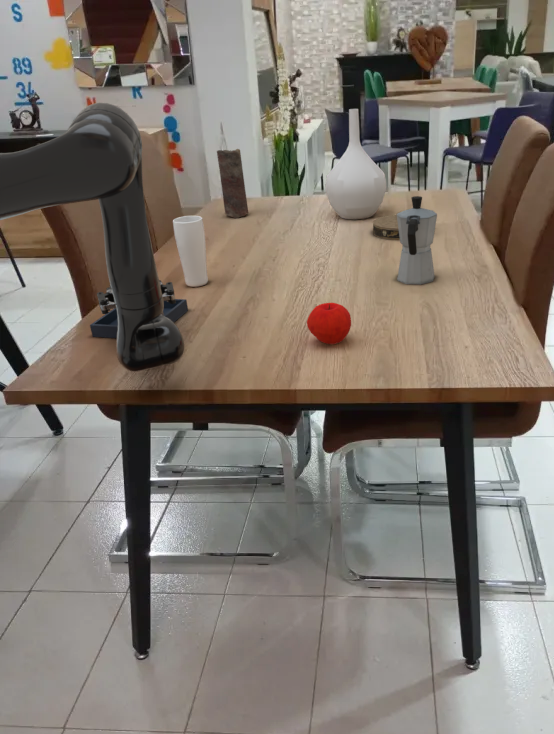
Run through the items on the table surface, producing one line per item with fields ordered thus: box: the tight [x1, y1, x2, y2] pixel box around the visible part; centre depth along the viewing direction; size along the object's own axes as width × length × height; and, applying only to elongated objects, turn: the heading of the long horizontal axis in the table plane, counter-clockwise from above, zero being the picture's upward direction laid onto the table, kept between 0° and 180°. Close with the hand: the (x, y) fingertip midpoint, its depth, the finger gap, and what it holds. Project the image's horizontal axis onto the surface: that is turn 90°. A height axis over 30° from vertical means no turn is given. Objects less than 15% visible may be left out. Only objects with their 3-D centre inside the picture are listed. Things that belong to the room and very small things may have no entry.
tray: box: [89, 298, 189, 339], centre depth 141 cm, size 16×13×2 cm
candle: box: [216, 148, 249, 219], centre depth 215 cm, size 8×7×20 cm
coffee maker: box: [395, 195, 438, 286], centre depth 151 cm, size 15×9×18 cm, turn 165°
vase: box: [324, 108, 387, 221], centre depth 204 cm, size 18×18×30 cm
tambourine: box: [372, 214, 400, 241], centre depth 191 cm, size 16×16×3 cm
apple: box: [306, 302, 352, 345], centre depth 125 cm, size 8×8×7 cm
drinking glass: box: [172, 215, 209, 288], centre depth 158 cm, size 7×7×15 cm
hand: (134, 286), depth 137 cm, fingers open, 8 cm apart
